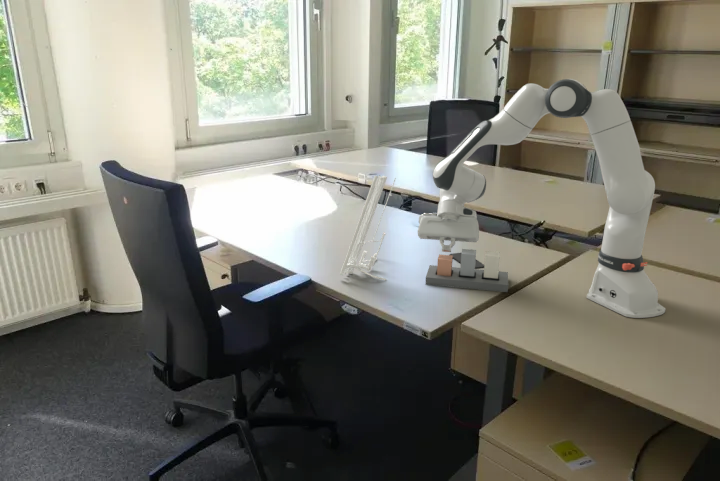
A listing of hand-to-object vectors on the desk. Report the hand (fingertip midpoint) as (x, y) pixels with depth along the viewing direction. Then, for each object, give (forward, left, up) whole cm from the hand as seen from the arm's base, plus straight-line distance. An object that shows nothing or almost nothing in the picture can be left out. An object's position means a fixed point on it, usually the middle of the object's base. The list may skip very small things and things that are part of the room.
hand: (446, 251), depth 174 cm
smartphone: (+14, -15, -11) cm, 23 cm away
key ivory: (-7, -13, -7) cm, 16 cm away
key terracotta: (0, 0, -10) cm, 10 cm away
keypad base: (-4, -6, -10) cm, 12 cm away
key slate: (-4, -6, -7) cm, 10 cm away
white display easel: (+13, +20, -10) cm, 26 cm away
